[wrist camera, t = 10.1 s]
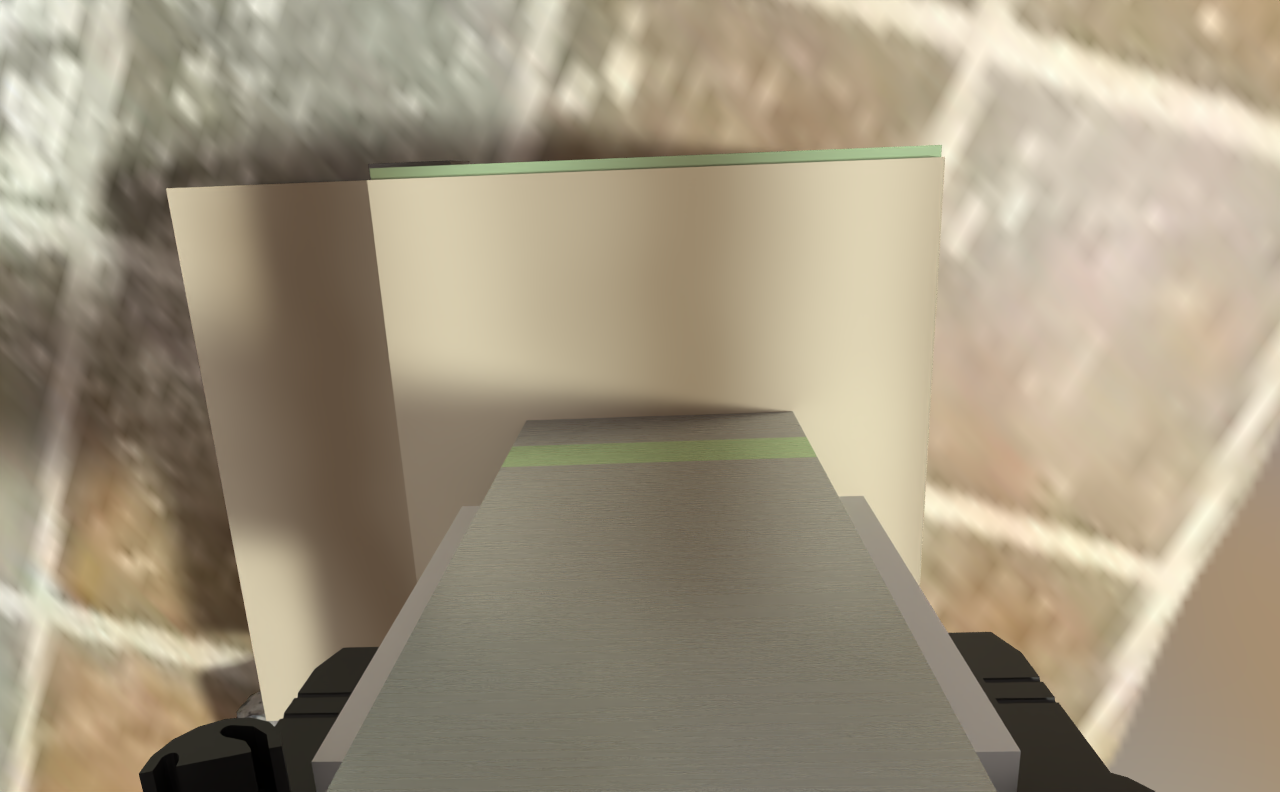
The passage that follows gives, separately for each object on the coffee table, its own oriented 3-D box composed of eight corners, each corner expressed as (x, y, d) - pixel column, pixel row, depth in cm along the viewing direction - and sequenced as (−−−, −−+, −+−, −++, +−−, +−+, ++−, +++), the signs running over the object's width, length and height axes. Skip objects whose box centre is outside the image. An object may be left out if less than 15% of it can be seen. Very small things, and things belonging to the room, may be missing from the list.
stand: (325, 638, 26) (182, 838, 18) (250, 173, 22) (29, 176, 14) (831, 629, 25) (905, 829, 18) (844, 149, 22) (946, 138, 14)
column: (546, 653, 17) (388, 1310, 7) (526, 420, 15) (298, 841, 6) (791, 647, 17) (971, 1314, 7) (792, 411, 15) (1017, 830, 6)
